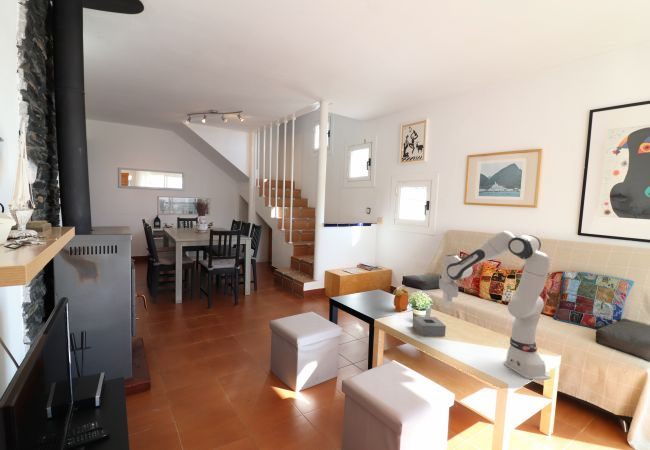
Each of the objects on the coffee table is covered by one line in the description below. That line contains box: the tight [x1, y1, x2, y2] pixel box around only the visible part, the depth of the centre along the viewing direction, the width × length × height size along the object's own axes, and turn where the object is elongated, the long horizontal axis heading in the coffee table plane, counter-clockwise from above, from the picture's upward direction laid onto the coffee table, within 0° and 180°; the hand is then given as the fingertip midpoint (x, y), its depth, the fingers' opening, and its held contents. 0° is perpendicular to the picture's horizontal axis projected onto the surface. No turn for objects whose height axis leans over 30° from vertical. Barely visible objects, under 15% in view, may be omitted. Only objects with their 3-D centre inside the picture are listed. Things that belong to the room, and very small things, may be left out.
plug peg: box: [441, 290, 453, 309], centre depth 214 cm, size 4×4×11 cm
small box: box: [425, 306, 432, 317], centre depth 240 cm, size 8×6×10 cm
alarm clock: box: [393, 285, 410, 313], centre depth 261 cm, size 13×6×20 cm, turn 133°
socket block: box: [412, 316, 447, 337], centre depth 221 cm, size 16×16×7 cm
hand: (447, 299), depth 214 cm, fingers closed on plug peg, 4 cm apart
